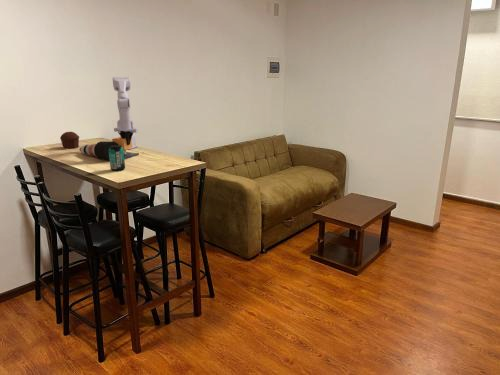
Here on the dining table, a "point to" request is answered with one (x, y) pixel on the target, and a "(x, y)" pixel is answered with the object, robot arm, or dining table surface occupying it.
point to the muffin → (70, 140)
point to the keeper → (129, 154)
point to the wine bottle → (98, 149)
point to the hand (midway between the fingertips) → (127, 144)
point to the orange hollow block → (122, 142)
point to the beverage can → (116, 158)
